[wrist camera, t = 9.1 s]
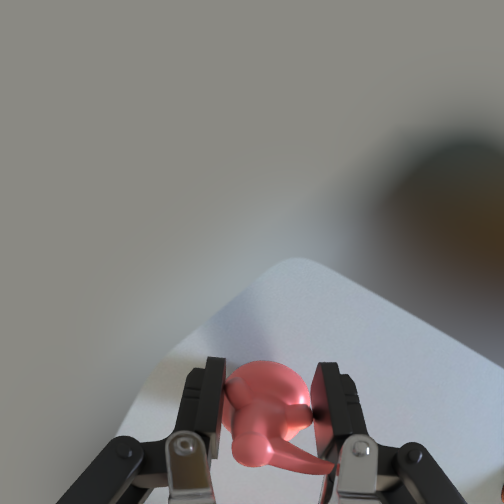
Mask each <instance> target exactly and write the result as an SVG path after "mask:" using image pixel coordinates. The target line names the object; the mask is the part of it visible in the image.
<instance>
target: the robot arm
mask: <svg viewBox="0 0 504 504" xmlns="http://www.w3.org/2000/svg"><path fill="white" fill-rule="evenodd" d="M225 383H226V358H218V357H208V358H207V362H206V367H205V369H202V368H193V370H192V371H191V372H190V373H189V374H188V376H187V378H186V382H185V386H184V390H183V395H182V399H181V403H180V407H179V412H178V416H177V420H176V425H175V428H174V430H173V432H172V433H171V434H170V435H169V436H168V437H167V438H165V439H163V440H160V441H154V442H143V443H140V442H139V441H138V440H136V439H135V438H133V437H130V436H118V437H116V438H114V439H112V440H111V441H110V442H109V443H108V444H107V445H106V447H105V448H104V449H103V450H102V451H101V452H100V453H99V455H98V456H97V457H96V458H95V459H94V460H93V462H92V463H91V464H90V465H89V466H88V467H87V469H86V470H85V471H84V472H83V473H82V474H81V476H80V477H79V478H78V479H77V480H76V481H75V482H74V483H73V485H72V486H71V487H70V488H69V489H68V490H67V492H66V493H65V494H64V495H63V496H62V497H61V498H60V500H59V501H58V502H57V503H56V504H143V503H144V502H145V501H146V499H147V498H148V496H149V495H150V494H151V492H152V491H153V489H154V488H157V487H167V486H169V498H168V504H216V501H215V496H214V492H213V487H212V482H211V476H210V467H211V459H217V458H218V449H219V440H220V431H221V423H222V414H223V405H224V396H225V391H224V386H225ZM310 396H311V405H312V413H313V421H314V429H315V437H316V446H317V455H318V458H319V459H322V460H325V461H329V462H331V463H334V464H335V466H334V468H333V469H332V471H331V472H330V474H326V475H324V477H323V482H322V487H321V492H320V497H319V502H318V504H467V502H466V501H465V500H464V498H463V497H462V496H461V494H460V493H459V492H458V490H457V489H456V488H455V486H454V485H453V484H452V482H451V481H450V480H449V478H448V477H447V476H446V474H445V473H444V472H443V470H442V469H441V468H440V466H439V465H438V464H437V462H436V461H435V460H434V459H433V457H432V456H431V455H430V453H429V452H428V451H427V449H426V448H425V447H424V446H423V445H421V444H419V443H416V442H409V443H406V444H404V445H403V446H402V447H401V448H395V447H388V446H383V445H380V444H378V443H376V442H375V440H374V439H373V438H371V437H370V436H369V434H368V432H367V428H366V424H365V420H364V416H363V412H362V408H361V405H360V403H359V402H360V401H359V397H358V395H357V389H356V386H355V383H354V381H353V380H352V379H351V378H350V376H349V375H348V374H340V372H339V368H338V364H337V363H336V362H319V363H318V365H317V368H316V372H315V375H314V378H313V381H312V385H311V393H310Z"/></svg>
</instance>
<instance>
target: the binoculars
mask: <svg viewBox="0 0 504 504" xmlns="http://www.w3.org/2000/svg"><path fill="white" fill-rule="evenodd" d="M501 498H502V501H503V503H504V486H503V489H502V494H501Z"/></svg>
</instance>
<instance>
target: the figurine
mask: <svg viewBox="0 0 504 504" xmlns="http://www.w3.org/2000/svg"><path fill="white" fill-rule="evenodd" d="M224 391H225V396H224V405H223V414H222V424H223V425H224V427H225V428H226V429H227V430H228V431H229V432H230V433H231V434H232V439H233V442H232V454H233V457H234V458H235V460H236V461H237V462H238V463H240V464H241V465H244V466H247V467H261V466H264V465H267V464H268V465H272V466H275V467H278V468H282V469H286V470H290V471H294V472H298V473H304V474H311V475H326V474H330V472H331V471H332V469H333V468H334V466H335V464H334V463H331V462H329V461H325V460H322V459H319V458H317V457H315V456H313V455H311V454H309V453H307V452H305V451H303V450H302V449H300V448H298V447H296V446H294V445H293V444H291V443H289V442H288V441H289V440H290V439H292V438H293V437H294V436H295V435H296V434H297V433H298V432H299V431H300V430H302V429H305V428H307V427H309V426H310V425H311V424H312V422H313V413H312V410H311V408H310V396H309V391H308V388H307V386H306V384H305V382H304V381H303V379H302V378H301V377H300V376H299V375H298V374H297V373H296V372H295V371H293V370H292V369H290V368H288V367H287V366H285V365H282V364H280V363H276V362H272V361H253V362H249V363H247V364H245V365H243V366H241V367H239V368H238V369H236V370H235V371H234V372H233V373H232V374H231V375H230V376H229V377H228V378H227V380H226V383H225V386H224Z"/></svg>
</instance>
